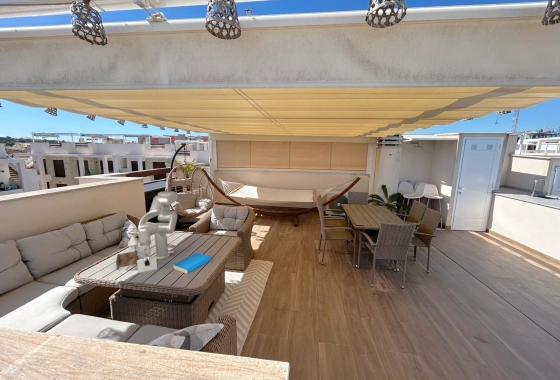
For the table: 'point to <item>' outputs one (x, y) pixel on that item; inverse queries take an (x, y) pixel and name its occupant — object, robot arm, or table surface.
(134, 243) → the toy gun turret
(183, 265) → the book
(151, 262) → the cover plate
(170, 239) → the table surface
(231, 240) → the table surface
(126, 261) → the box
